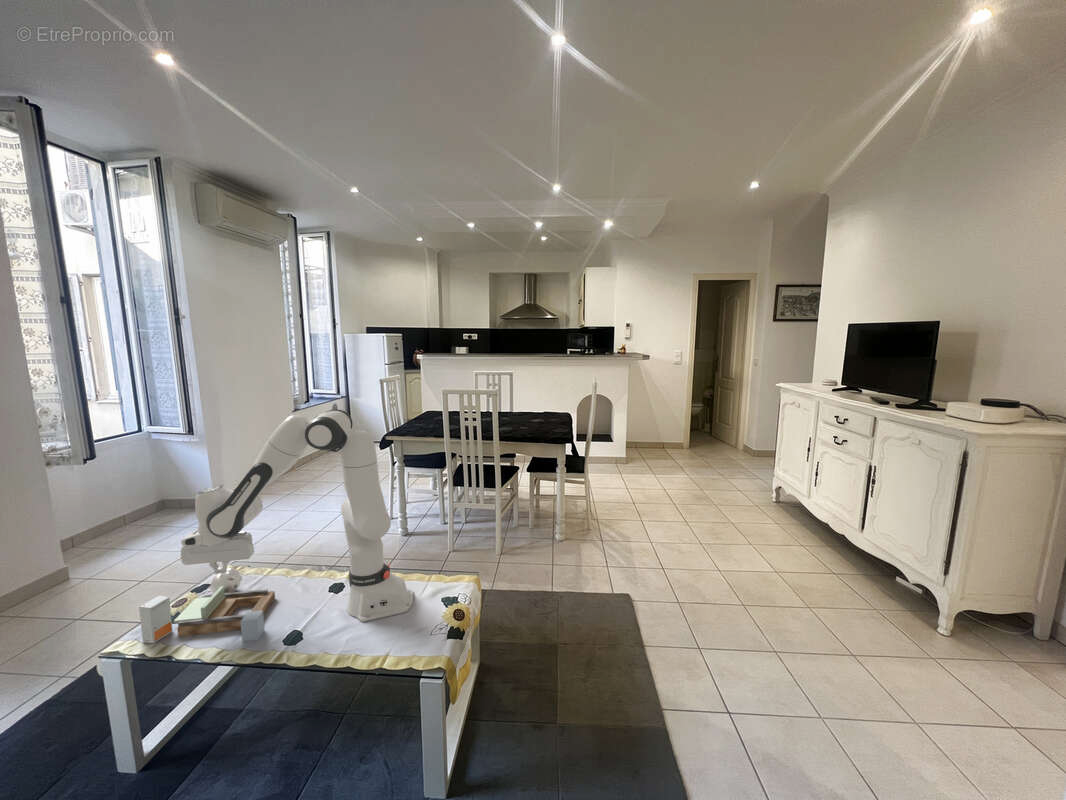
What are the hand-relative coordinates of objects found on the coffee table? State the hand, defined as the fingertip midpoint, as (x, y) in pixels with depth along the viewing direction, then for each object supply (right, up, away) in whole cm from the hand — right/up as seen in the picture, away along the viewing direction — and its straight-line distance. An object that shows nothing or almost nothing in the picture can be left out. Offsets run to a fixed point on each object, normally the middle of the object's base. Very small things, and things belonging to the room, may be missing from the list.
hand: (221, 572), depth 140 cm
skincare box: (-14, -17, -8) cm, 23 cm away
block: (+16, -17, -7) cm, 24 cm away
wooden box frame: (+1, -16, +2) cm, 16 cm away
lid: (-7, -13, 0) cm, 14 cm away
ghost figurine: (-8, -14, +14) cm, 22 cm away
